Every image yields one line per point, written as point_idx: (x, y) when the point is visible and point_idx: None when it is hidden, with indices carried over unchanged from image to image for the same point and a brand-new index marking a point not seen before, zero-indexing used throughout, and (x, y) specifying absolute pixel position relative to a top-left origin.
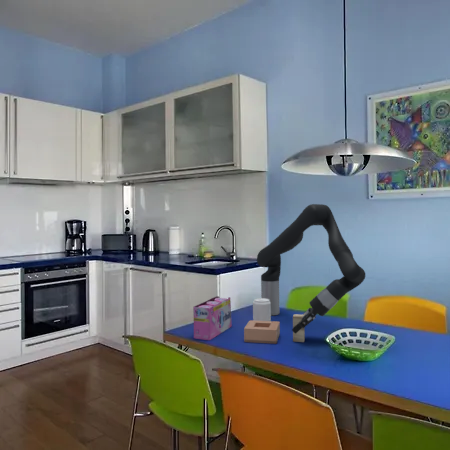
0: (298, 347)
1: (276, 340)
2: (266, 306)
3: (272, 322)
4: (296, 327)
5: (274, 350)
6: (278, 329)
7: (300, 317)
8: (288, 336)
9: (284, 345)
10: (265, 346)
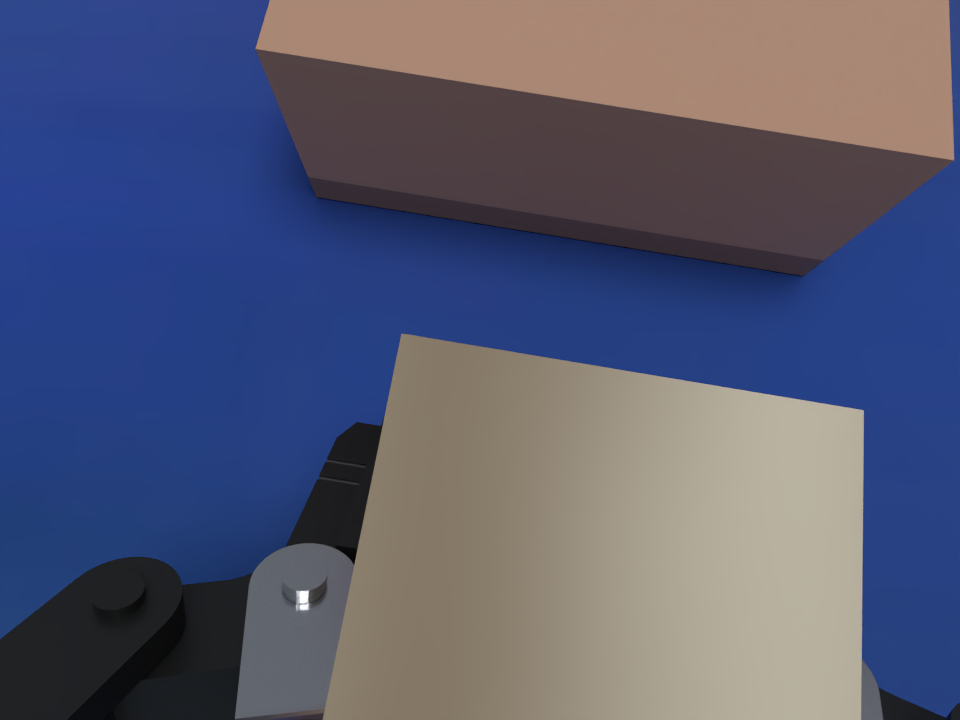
0: (111, 520)
1: (333, 178)
2: None
3: (855, 18)
4: (314, 497)
5: (19, 157)
6: (664, 178)
7: (336, 678)
8: None
9: (234, 307)
10: (209, 55)
